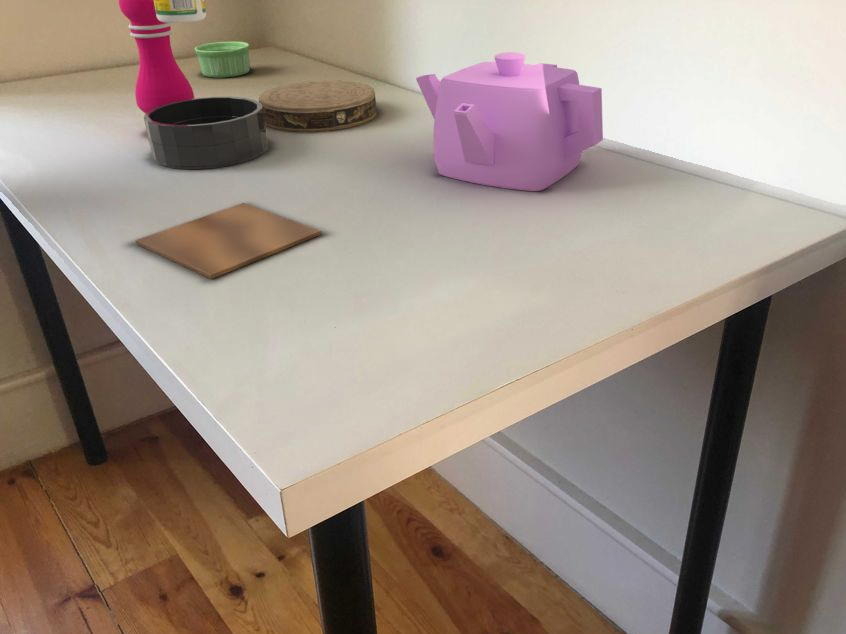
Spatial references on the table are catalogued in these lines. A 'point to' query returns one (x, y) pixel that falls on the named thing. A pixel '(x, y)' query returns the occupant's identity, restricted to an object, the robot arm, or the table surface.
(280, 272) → the table surface
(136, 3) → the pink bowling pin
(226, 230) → the mat
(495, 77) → the teakettle
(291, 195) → the table surface
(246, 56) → the ramekin
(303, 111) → the wood slice
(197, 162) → the pan
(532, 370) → the table surface
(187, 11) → the supplement bottle
